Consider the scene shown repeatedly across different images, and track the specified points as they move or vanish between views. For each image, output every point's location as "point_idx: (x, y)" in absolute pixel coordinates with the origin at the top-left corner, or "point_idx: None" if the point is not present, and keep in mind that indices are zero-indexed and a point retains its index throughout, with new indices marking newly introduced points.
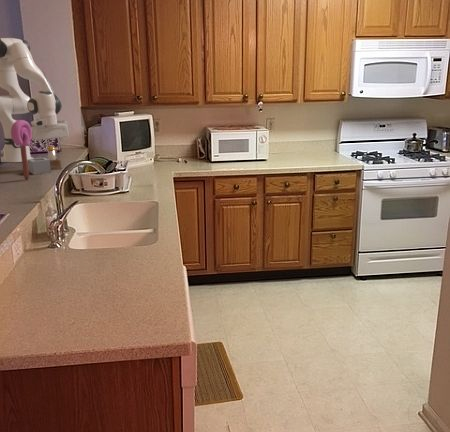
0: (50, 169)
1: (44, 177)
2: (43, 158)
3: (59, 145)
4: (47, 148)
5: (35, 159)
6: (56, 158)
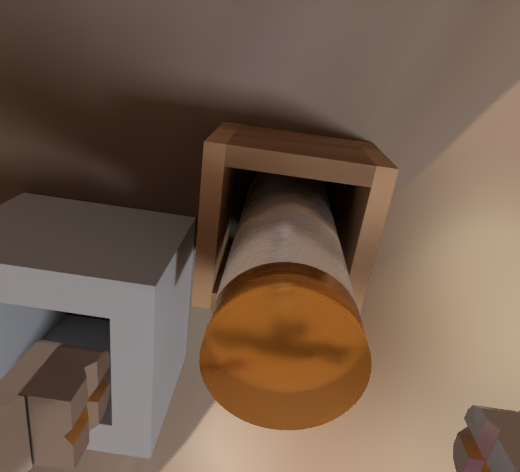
0: (177, 374)
1: (86, 459)
2: (117, 339)
3: (466, 464)
4: (205, 332)
5: (16, 299)
6: (390, 176)
